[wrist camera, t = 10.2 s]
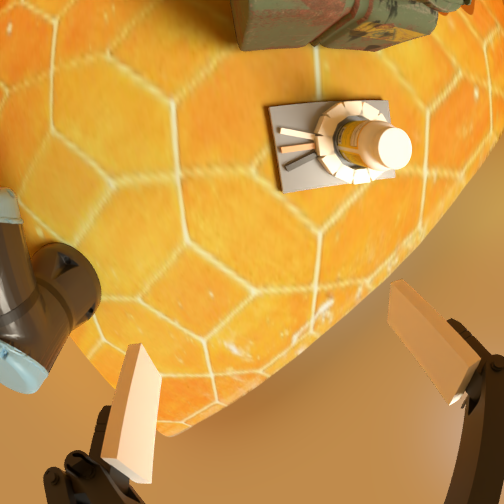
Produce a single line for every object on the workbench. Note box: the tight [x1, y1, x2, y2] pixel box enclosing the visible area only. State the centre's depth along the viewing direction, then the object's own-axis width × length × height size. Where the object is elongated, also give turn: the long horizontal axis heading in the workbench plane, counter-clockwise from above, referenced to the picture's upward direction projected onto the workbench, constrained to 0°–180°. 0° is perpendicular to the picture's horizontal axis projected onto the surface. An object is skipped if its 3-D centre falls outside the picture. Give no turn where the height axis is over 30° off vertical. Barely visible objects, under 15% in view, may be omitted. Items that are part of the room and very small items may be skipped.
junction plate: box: [268, 100, 395, 194], centre depth 35 cm, size 18×12×3 cm, turn 100°
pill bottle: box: [335, 120, 412, 171], centre depth 31 cm, size 6×6×11 cm
